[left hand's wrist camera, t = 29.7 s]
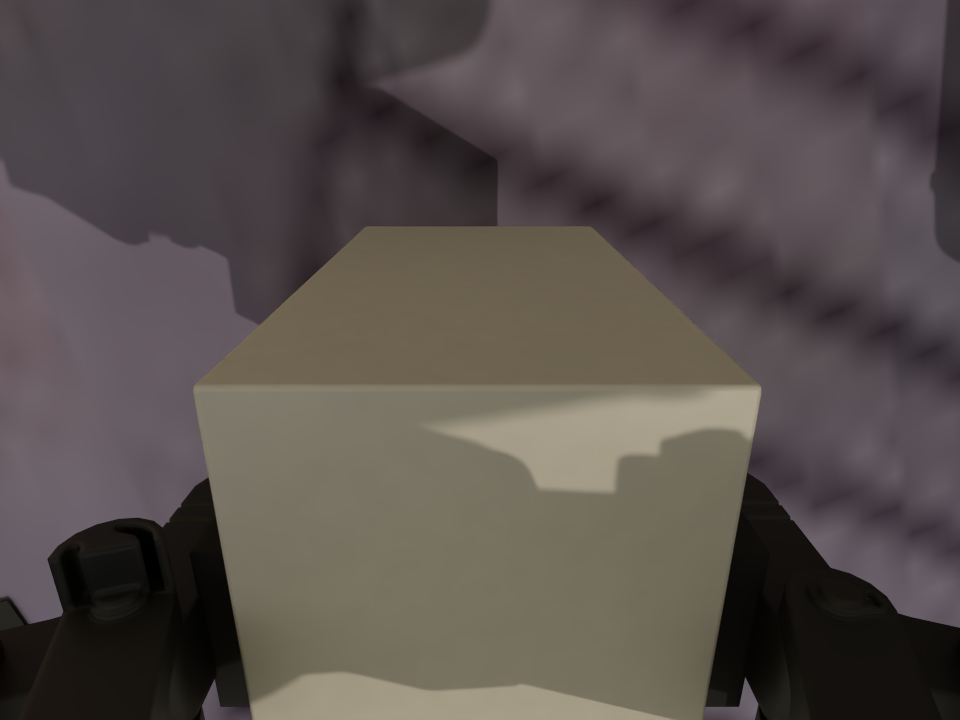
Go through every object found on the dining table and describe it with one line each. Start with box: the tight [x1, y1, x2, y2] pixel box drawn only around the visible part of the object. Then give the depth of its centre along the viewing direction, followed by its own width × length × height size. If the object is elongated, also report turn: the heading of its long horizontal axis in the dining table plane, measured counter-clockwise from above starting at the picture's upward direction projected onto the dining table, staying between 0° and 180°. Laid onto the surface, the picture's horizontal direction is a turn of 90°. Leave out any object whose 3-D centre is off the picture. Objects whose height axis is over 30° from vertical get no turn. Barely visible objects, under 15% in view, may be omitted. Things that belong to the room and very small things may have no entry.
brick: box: [193, 226, 761, 720], centre depth 13 cm, size 6×8×11 cm
